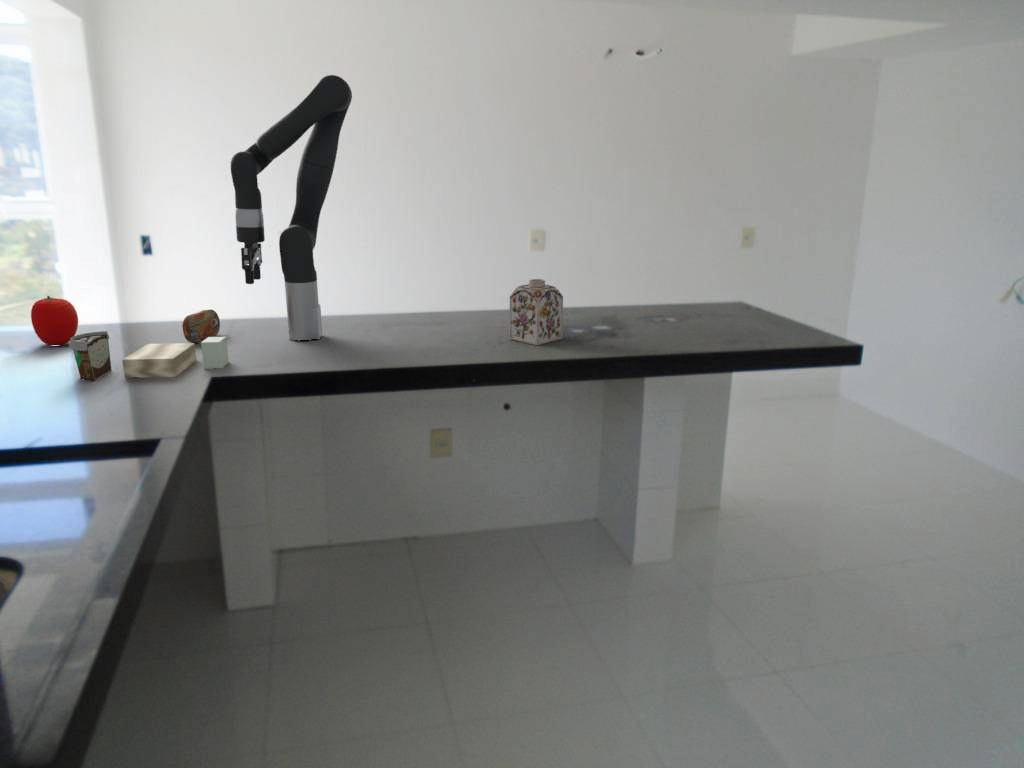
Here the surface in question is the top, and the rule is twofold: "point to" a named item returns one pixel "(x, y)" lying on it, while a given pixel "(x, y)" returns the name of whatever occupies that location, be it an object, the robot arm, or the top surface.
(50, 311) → the red apple
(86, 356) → the food container
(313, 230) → the robot arm
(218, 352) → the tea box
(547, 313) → the decorative jar
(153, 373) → the maple block
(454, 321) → the top surface
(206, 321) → the tin
